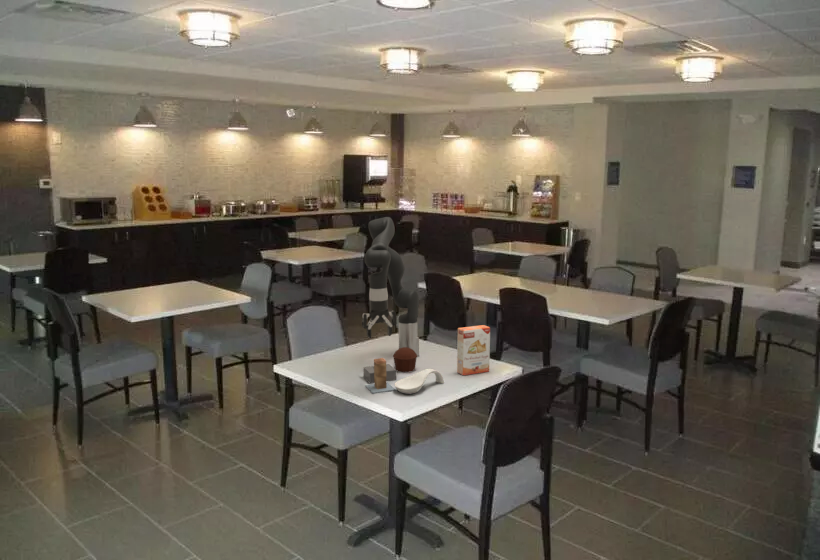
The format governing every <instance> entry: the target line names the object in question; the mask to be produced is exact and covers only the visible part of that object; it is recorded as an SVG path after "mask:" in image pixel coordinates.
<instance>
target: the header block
mask: <svg viewBox="0 0 820 560" xmlns="http://www.w3.org/2000/svg"><path fill="white" fill-rule="evenodd" d="M362 369H363V373H362V375H363V378H364V379H365V380H366V381H367V382H368V383H369V384H374V365H369V366H368V365H367V366H363V367H362ZM391 381H397V370H396V369H395V367H393V366H392V365H391V364H389V363H386V382H391Z"/></svg>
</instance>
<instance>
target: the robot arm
mask: <svg viewBox="0 0 820 560" xmlns="http://www.w3.org/2000/svg"><path fill="white" fill-rule="evenodd" d="M367 227H368V231H369V234H370V237H371V238H372V242H371V246H370V247H369V248H368V249H367V250H366V253H365V254H364V264H365V266H367V267H368V268H381V270H379V271H377V272H373V273H371V274H370V275H369V296H368V297H369V313H364V312H362V315H361V317H362V318H361V327H362V328H364V329H366V336H367V338H368V339H372V327H373V326H374V325H375V324H381V323H382V324H383V323H385V324H386V325H387V336H388V337H391V336H392V334H393V327H394V326H397V315H396V311H395V310H393V309H392V310H389V298H388V297H389V294H388V282H389V285H390V288H391V292H392V296H393V300H394V304H395V305H396V306H397V308H401V309H407V312H406V313H404V314H400V315H399V316H398V349H400V348H403V347H408V348H411V349H412V350H414V351H415V353H416V354H417V357H420V337H419V336H418V318H419V302H420V296H419V292H418V291H417V290H414V289H410V288H409V289H406V288H403V285H402V279H403V276H404V275H405V264H404V261H403V258H402V256H401V255H400V254H399V253H398V252H397V251H396V250H395V249H393V248H392V247H390V246H389V245H390V243H391V242H392V239H393V238H394V235H395V232H396V231H395V230H396V229H395V223H394V221H393V219H392V217H390V216H385V217H380V218H376V219H372V220H370V221H369V222H368V226H367ZM389 316H390V317H391V321H390V320H389V319H388V317H389ZM368 318H369V320H368ZM367 320H368V322H367Z"/></svg>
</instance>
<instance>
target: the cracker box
mask: <svg viewBox="0 0 820 560" xmlns="http://www.w3.org/2000/svg"><path fill="white" fill-rule="evenodd" d="M456 344H457V345H456V346H457V349H456V351H457V356H456V358H457V359H456V360H457V361H456V365H457V366H456V369H457V370H456V371H457V372H456V373H458V374H460V375H462V376H468V375H475V374H483V373H487V372H490V356H491V355H490V354H491V349H490V348H491V346H490V345H491V327H490V326H487V325H485V324H482V325H472V326H465V327H458V328H457V343H456Z"/></svg>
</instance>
